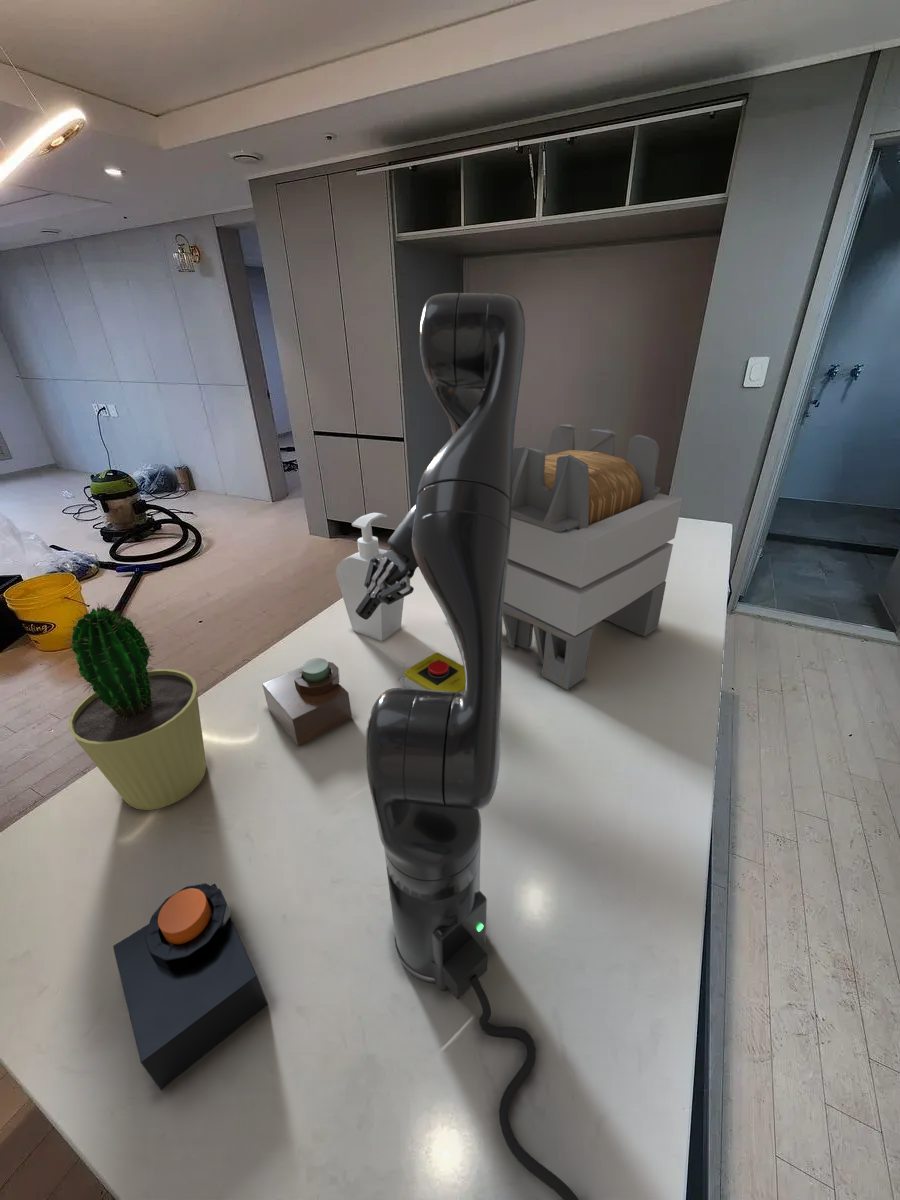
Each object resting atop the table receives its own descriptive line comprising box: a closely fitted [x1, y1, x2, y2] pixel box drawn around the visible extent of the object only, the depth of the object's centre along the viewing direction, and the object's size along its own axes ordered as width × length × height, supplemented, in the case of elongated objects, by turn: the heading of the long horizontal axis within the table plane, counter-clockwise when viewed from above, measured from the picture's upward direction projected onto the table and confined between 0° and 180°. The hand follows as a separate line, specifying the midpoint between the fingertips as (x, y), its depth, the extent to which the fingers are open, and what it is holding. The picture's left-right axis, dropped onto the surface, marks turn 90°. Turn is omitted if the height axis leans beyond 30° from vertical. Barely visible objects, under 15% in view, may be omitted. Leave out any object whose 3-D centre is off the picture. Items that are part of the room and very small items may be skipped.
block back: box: [262, 661, 353, 747], centre depth 87 cm, size 12×11×8 cm
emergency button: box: [399, 652, 466, 693], centre depth 93 cm, size 9×4×15 cm
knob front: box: [158, 888, 211, 945], centre depth 51 cm, size 4×4×2 cm
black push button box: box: [112, 882, 269, 1091], centre depth 50 cm, size 12×10×8 cm
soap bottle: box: [335, 512, 405, 642], centre depth 107 cm, size 12×10×26 cm
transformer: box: [502, 423, 684, 691], centre depth 103 cm, size 34×33×41 cm
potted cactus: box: [60, 602, 207, 811], centre depth 69 cm, size 15×15×30 cm
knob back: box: [301, 657, 330, 683], centre depth 86 cm, size 4×4×2 cm
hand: (360, 616), depth 87 cm, fingers closed
